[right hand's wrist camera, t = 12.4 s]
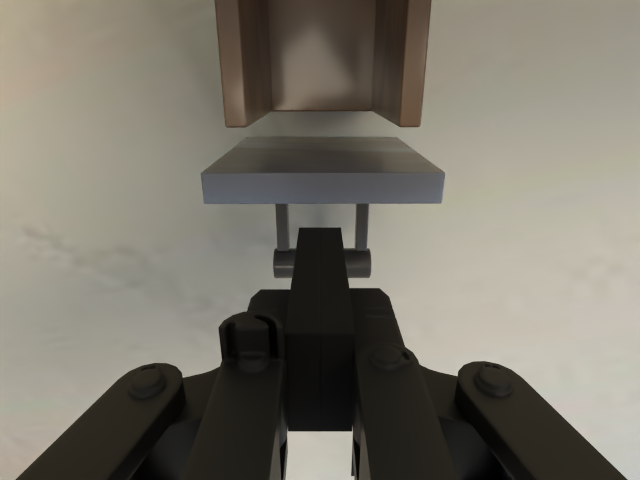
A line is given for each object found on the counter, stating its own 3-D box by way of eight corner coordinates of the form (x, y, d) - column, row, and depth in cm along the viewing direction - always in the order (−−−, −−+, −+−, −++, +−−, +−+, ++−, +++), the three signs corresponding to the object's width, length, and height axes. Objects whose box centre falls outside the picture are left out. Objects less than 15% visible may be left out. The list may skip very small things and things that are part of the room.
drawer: (390, 242, 27) (427, 328, 17) (253, 242, 27) (217, 329, 17) (422, -236, 18) (531, -572, 9) (221, -236, 18) (117, -569, 9)
